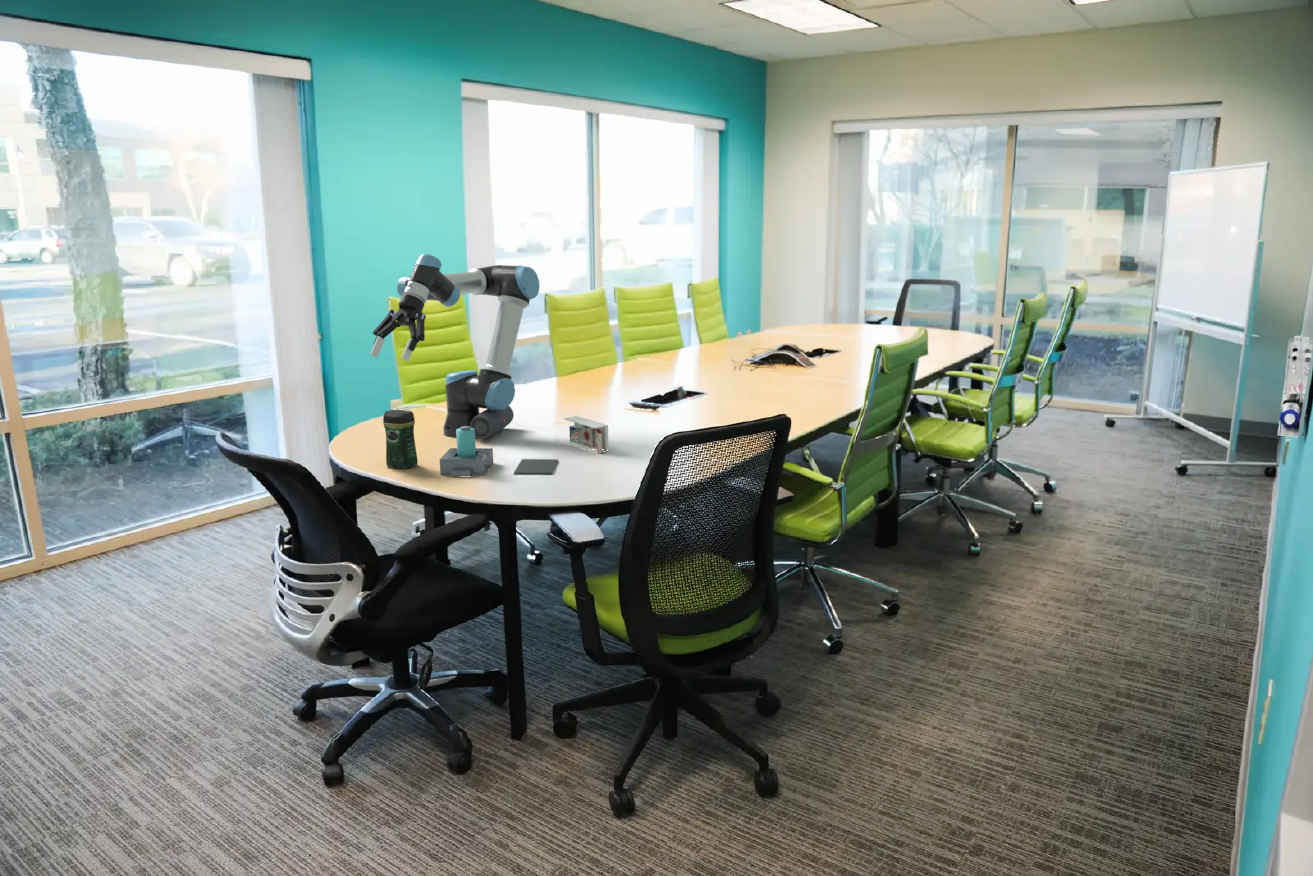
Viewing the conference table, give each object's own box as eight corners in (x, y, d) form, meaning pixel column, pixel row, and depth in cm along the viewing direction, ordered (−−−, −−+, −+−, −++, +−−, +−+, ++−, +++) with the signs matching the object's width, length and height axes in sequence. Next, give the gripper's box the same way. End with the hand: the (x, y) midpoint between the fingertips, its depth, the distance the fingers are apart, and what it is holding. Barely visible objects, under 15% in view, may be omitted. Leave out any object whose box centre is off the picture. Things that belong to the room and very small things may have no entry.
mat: (522, 460, 307) (522, 459, 307) (558, 461, 307) (558, 459, 306) (513, 474, 291) (513, 472, 291) (551, 474, 291) (551, 472, 291)
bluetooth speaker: (492, 443, 330) (492, 415, 328) (468, 440, 332) (468, 413, 330) (515, 428, 352) (515, 403, 349) (492, 426, 354) (492, 401, 351)
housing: (452, 460, 307) (451, 446, 306) (494, 461, 306) (494, 446, 305) (438, 476, 288) (437, 461, 287) (483, 477, 288) (482, 461, 287)
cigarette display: (564, 443, 330) (563, 418, 327) (577, 441, 333) (576, 415, 331) (597, 454, 315) (597, 428, 312) (610, 452, 318) (610, 425, 316)
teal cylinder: (460, 466, 300) (458, 425, 297) (478, 466, 300) (476, 425, 297) (456, 471, 295) (454, 429, 291) (474, 471, 295) (472, 429, 291)
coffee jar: (422, 464, 302) (418, 409, 298) (406, 470, 295) (402, 413, 291) (398, 461, 306) (394, 406, 302) (382, 467, 299) (378, 411, 295)
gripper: (378, 291, 299) (352, 349, 293) (435, 294, 287) (410, 354, 281) (393, 303, 305) (368, 360, 299) (450, 306, 293) (425, 366, 287)
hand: (388, 357), depth 290 cm, fingers open, 13 cm apart
